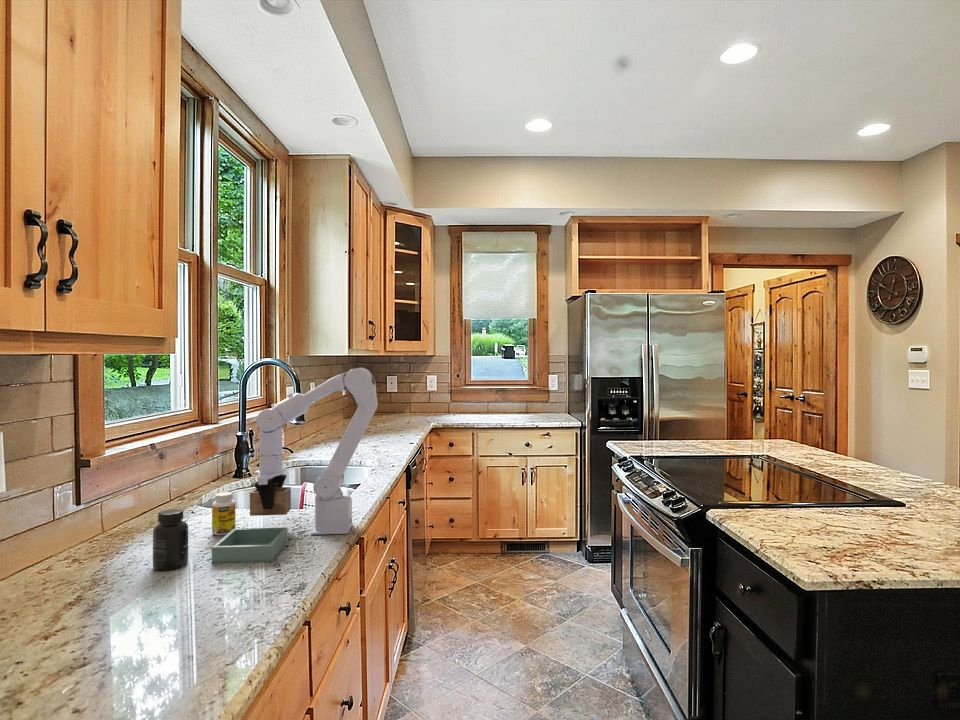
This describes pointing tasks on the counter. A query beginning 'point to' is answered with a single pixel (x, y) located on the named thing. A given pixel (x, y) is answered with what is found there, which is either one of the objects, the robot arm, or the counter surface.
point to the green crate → (250, 545)
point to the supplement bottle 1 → (170, 541)
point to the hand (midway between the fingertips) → (271, 505)
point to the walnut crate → (279, 507)
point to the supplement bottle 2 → (223, 514)
